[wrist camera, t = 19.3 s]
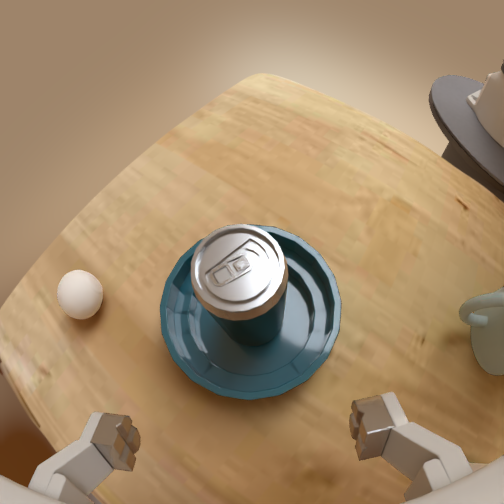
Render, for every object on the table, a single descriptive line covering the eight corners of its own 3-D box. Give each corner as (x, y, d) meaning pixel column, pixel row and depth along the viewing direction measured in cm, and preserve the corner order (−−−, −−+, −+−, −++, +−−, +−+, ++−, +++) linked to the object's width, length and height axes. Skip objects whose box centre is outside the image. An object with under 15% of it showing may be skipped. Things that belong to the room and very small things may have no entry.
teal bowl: (252, 222, 31) (248, 196, 27) (361, 313, 27) (375, 299, 22) (148, 318, 28) (128, 305, 24) (253, 428, 23) (248, 437, 19)
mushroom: (106, 274, 30) (82, 254, 26) (116, 314, 28) (90, 300, 24) (71, 291, 30) (45, 274, 25) (79, 330, 28) (51, 319, 23)
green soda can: (242, 358, 25) (215, 336, 14) (212, 307, 27) (170, 251, 16) (295, 326, 26) (309, 280, 15) (263, 278, 28) (254, 204, 17)
